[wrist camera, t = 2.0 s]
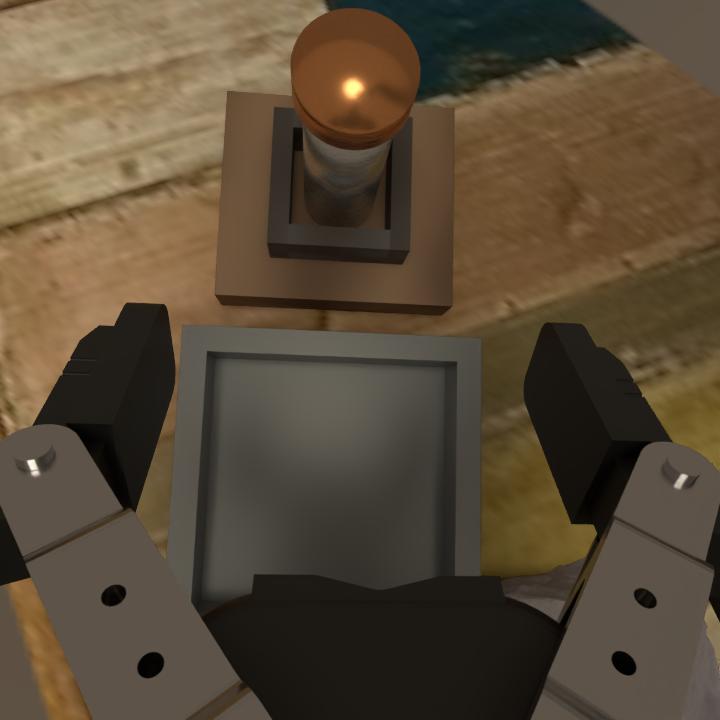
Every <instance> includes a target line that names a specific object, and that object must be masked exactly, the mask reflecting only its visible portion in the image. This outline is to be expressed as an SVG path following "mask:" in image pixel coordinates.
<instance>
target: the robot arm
mask: <svg viewBox="0 0 720 720" xmlns="http://www.w3.org/2000/svg"><path fill="white" fill-rule="evenodd" d="M70 358H71V360H70V361H68V363H67V365H66V366H65V368H64V370H63V375H62V376H61V375H60V377H59V379H58V381H57V383H56V384H55V386H54V388H53V390H52V391H51V393H50V395H49V397H48V399H47V400H46V402H45V404H44V406H43V408H42V409H41V411H40V413H39V415H38V417H37V418H36V420H35V422H34V424H33V425H32V426H31V427H27V428H24V429H21V430H19V431H17V432H14V433H12V434H11V435H9V436H7V437H6V438H4V439H3V440H1V441H0V586H1V585H4V584H8V583H12V582H16V581H19V580H23V579H27V578H30V577H31V578H32V580H33V583H34V585H35V587H36V589H37V592H38V594H39V596H40V599H41V601H42V603H43V605H44V608H45V610H46V612H47V615H48V617H49V619H50V622H51V624H52V626H53V628H54V631H55V633H56V635H57V638H58V640H59V642H60V645H61V647H62V649H63V651H64V654H65V656H66V658H67V661H68V663H69V665H70V667H71V670H72V672H73V674H74V677H75V679H76V681H77V684H78V686H79V688H80V690H81V693H82V695H83V697H84V700H85V702H86V704H87V707H88V709H89V711H90V713H91V716H92V718H93V720H680V719H681V715H682V711H683V706H684V702H685V698H686V693H687V689H688V685H689V681H690V676H691V672H692V668H693V663H694V659H695V655H696V650H697V646H698V642H699V638H700V633H701V629H702V625H703V620H704V616H705V612H706V607H707V603H708V599H709V601H710V603H711V605H712V607H713V609H714V611H715V613H716V615H717V617H718V620H719V622H720V473H719V471H718V470H717V469H716V467H715V466H714V465H713V464H712V463H711V462H710V461H709V460H708V459H706V458H705V457H704V456H702V455H701V454H699V453H698V452H696V451H694V450H692V449H690V448H688V447H685V446H683V445H680V444H676V443H673V442H672V440H671V439H670V437H669V436H668V434H667V432H666V431H665V429H664V428H663V426H662V425H661V423H660V421H659V420H658V418H657V417H656V415H655V413H654V412H653V410H652V409H651V407H650V405H649V404H648V402H647V401H646V399H645V397H642V393H641V391H640V390H639V388H638V386H637V385H636V383H633V378H632V377H631V375H630V374H629V372H628V370H627V369H626V367H625V366H624V364H623V363H622V362H621V361H620V360H619V359H617V358H616V357H615V356H614V355H613V354H611V353H610V352H609V351H608V350H606V349H605V348H601V347H596V345H595V343H594V342H593V340H592V338H591V337H590V335H589V333H588V332H587V330H586V328H585V327H584V326H583V325H582V324H572V323H550V322H547V323H545V324H544V325H543V327H542V329H541V331H540V334H539V337H538V340H537V343H536V346H535V349H534V352H533V355H532V358H531V361H530V364H529V367H528V370H527V373H526V377H525V381H524V401H525V405H526V407H527V410H528V413H529V415H530V418H531V420H532V423H533V426H534V428H535V431H536V433H537V436H538V439H539V441H540V444H541V446H542V449H543V452H544V454H545V457H546V459H547V462H548V464H549V467H550V470H551V472H552V475H553V477H554V480H555V483H556V485H557V488H558V490H559V493H560V496H561V498H562V501H563V503H564V506H565V509H566V511H567V514H568V516H569V519H570V522H571V524H594V527H595V529H596V531H597V535H596V537H595V539H594V540H593V542H592V544H591V546H590V549H589V551H588V553H587V555H586V558H585V560H584V562H583V564H582V566H581V569H580V571H579V573H578V575H577V578H576V580H575V582H574V584H573V586H572V589H571V591H570V593H569V595H568V598H567V600H566V602H565V604H564V606H563V609H562V611H561V613H560V615H559V617H558V619H557V621H555V620H554V619H553V618H551V617H550V616H548V615H546V614H545V613H543V612H542V611H540V610H538V609H536V608H534V607H532V606H530V605H528V604H526V603H524V602H521V601H518V600H516V599H513V598H510V597H506V596H504V592H503V588H502V584H501V580H500V576H438V577H434V578H430V579H426V580H422V581H418V582H414V583H409V584H405V585H401V586H397V587H393V588H389V589H385V590H375V589H371V588H367V587H363V586H359V585H355V584H351V583H347V582H343V581H339V580H335V579H331V578H327V577H323V576H319V575H290V574H254V576H253V586H252V593H251V594H247V595H244V596H240V597H237V598H234V599H232V600H229V601H226V602H224V603H222V604H220V605H218V606H216V607H214V608H212V609H210V610H209V611H207V612H206V613H204V614H202V615H201V616H200V615H199V614H198V612H197V611H196V609H195V607H194V606H193V604H192V603H191V601H190V600H189V598H188V596H187V595H186V593H185V592H184V590H183V588H182V587H181V585H180V584H179V582H178V580H177V579H176V577H175V576H174V574H173V572H172V571H171V569H170V568H169V566H168V565H167V563H166V561H165V560H164V558H163V557H162V555H161V553H160V552H159V550H158V549H157V547H156V545H155V544H154V542H153V541H152V539H151V537H150V536H149V534H148V533H147V531H146V530H145V528H144V526H143V525H142V523H141V522H140V520H139V518H138V517H137V515H136V514H135V512H136V509H137V506H138V503H139V499H140V496H141V493H142V490H143V487H144V483H145V480H146V477H147V474H148V471H149V468H150V464H151V461H152V458H153V455H154V452H155V448H156V445H157V442H158V439H159V436H160V432H161V429H162V426H163V423H164V420H165V416H166V413H167V410H168V407H169V404H170V400H171V397H172V394H173V390H174V385H175V359H174V352H173V345H172V337H171V330H170V323H169V316H168V311H167V308H166V306H165V305H164V304H150V303H126V304H125V305H124V307H123V309H122V311H121V313H120V315H119V317H118V319H117V321H116V323H115V325H114V326H100V325H99V326H98V327H97V328H95V329H94V330H93V331H91V332H90V333H89V334H88V335H86V336H85V337H84V338H82V339H81V340H80V341H79V343H78V345H77V347H76V349H75V350H74V352H73V354H72V356H71V357H70Z"/></svg>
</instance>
